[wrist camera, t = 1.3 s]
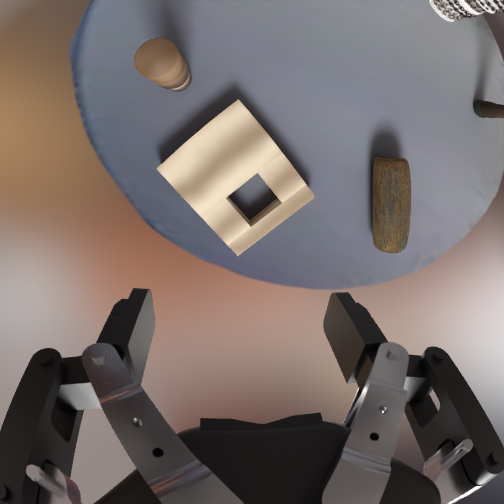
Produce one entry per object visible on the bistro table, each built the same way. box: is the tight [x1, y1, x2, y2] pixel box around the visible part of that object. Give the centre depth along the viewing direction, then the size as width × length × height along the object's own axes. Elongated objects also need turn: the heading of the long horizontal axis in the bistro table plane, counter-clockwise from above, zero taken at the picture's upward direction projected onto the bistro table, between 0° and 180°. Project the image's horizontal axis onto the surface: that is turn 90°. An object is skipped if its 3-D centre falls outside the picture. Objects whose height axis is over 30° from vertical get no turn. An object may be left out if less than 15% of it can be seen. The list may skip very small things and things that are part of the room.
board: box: [157, 99, 315, 256], centre depth 38 cm, size 17×14×3 cm
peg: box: [134, 38, 192, 91], centre depth 26 cm, size 4×4×14 cm
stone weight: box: [372, 157, 411, 253], centre depth 40 cm, size 15×7×7 cm, turn 11°
